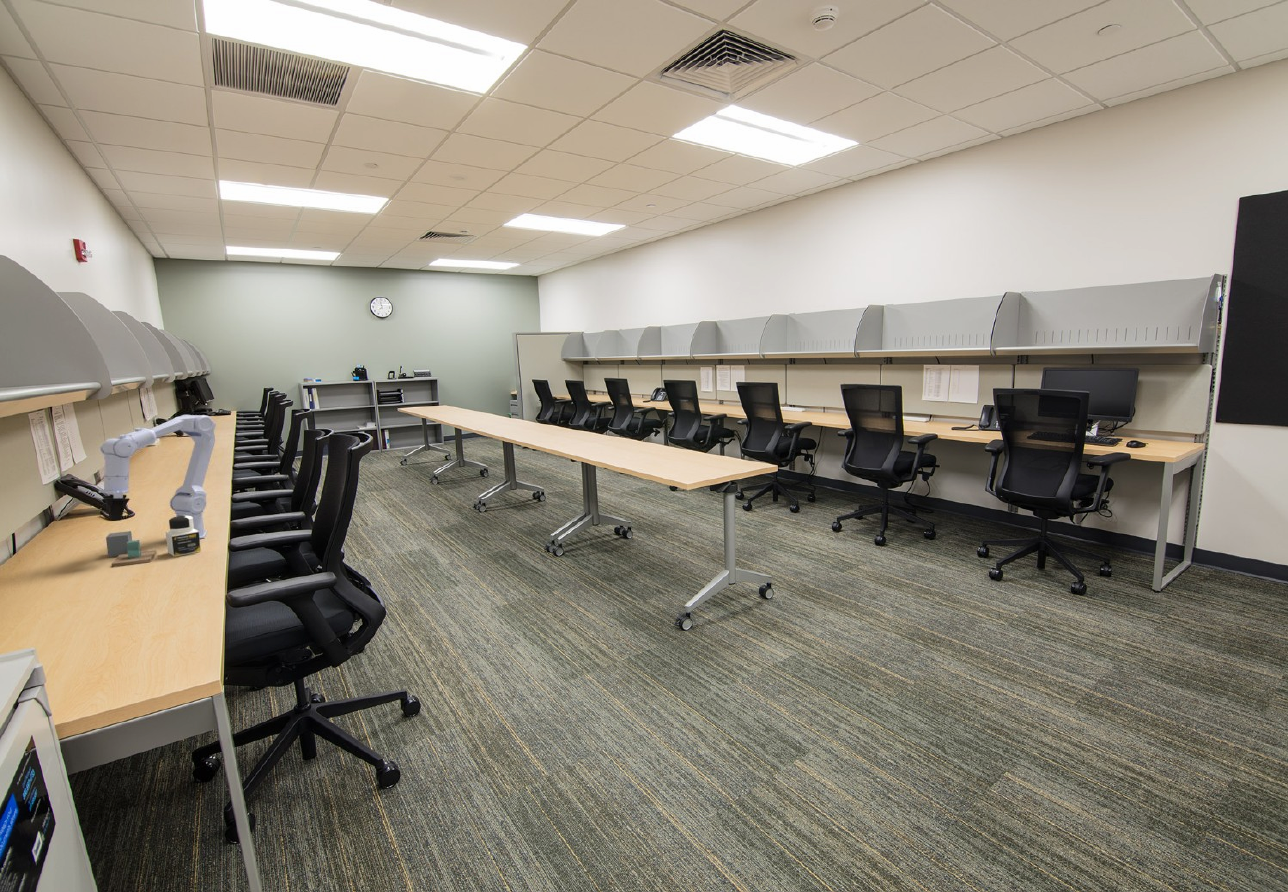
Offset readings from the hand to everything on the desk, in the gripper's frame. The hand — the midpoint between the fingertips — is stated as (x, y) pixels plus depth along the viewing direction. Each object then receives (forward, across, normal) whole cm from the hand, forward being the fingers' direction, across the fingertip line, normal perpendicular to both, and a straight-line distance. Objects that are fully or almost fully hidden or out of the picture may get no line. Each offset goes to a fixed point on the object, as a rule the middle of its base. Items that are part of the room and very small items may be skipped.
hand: (115, 519), depth 178 cm
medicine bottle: (+11, +8, +17) cm, 21 cm away
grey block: (+12, -5, +2) cm, 13 cm away
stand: (+12, +6, +5) cm, 15 cm away
